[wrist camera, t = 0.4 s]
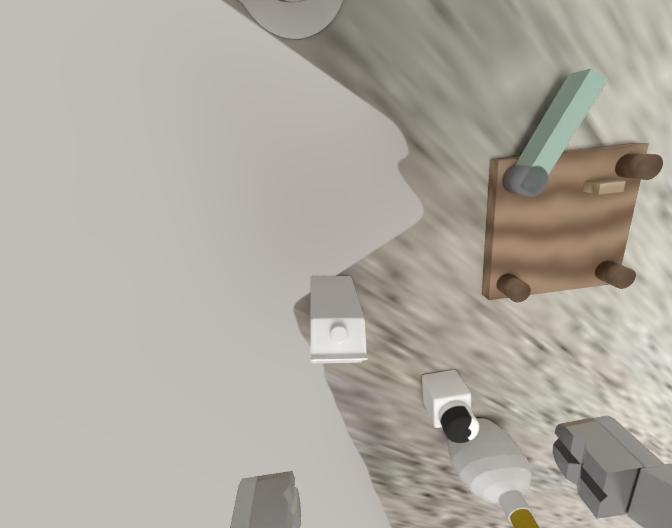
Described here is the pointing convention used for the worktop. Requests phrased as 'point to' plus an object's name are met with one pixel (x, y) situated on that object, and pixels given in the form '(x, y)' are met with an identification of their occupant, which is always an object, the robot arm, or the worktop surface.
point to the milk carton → (336, 321)
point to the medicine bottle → (450, 405)
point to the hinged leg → (554, 133)
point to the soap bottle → (495, 471)
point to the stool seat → (565, 223)
